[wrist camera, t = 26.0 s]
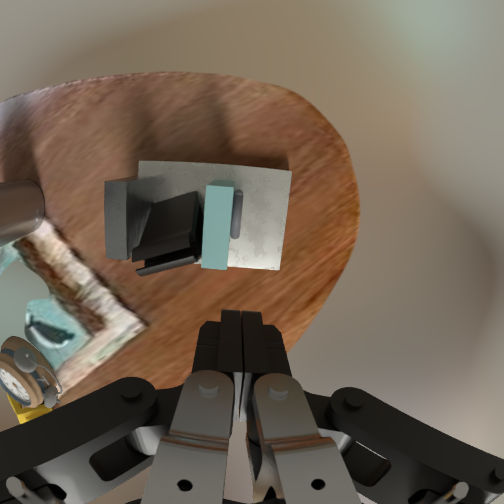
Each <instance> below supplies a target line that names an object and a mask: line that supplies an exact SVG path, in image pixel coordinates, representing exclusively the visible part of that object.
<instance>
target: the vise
mask: <svg viewBox="0 0 504 504" xmlns="http://www.w3.org/2000/svg"><path fill="white" fill-rule="evenodd" d="M291 175H292V171H286V170H278V169H269V168H260V167H250V166H239V165H227V164H214V163H197V162H175V161H139V167H138V176H133V177H127V178H121V179H116V180H110V181H105V195H104V214H105V244H106V258H110V259H120V260H128V259H129V258H130V257H131V256H132V250H133V248H134V247H137V246H138V245H139V243H140V240H141V237H142V234H143V231H144V228H145V225H146V222H147V220H148V217H149V214H150V211H151V209H152V206H153V204H154V203H157V202H160V201H164V200H167V199H170V198H173V197H176V196H180V195H183V194H186V193H190V192H193V191H197V195H198V198H199V202H200V205H201V209H202V212H203V215H204V210H205V195H206V185H207V184H209V183H210V182H212V181H213V180H215V179H217V180H230V181H235V186H234V192H235V191H236V190H242V191H243V194H244V196H243V206H242V217H241V227H240V236H239V238H238V239H232V238H231V236H230V243H229V252H228V262H227V266H232V267H244V268H257V269H271V270H279V268H280V261H281V253H282V246H283V239H284V231H285V224H286V216H287V208H288V200H289V192H290V184H291ZM195 264H202V259H201V260H198V262H196V263H195Z"/></svg>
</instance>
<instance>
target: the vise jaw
mask: <svg viewBox="0 0 504 504" xmlns="http://www.w3.org/2000/svg"><path fill="white" fill-rule="evenodd" d="M234 186H235V181H230V180H217V179H215V180H213V181H212V182H210V183H209V184H207V185H206V195H205V210H204V225H203V243H202V264H201V268H210V269H222V270H227V262H228V252H229V243H230V236H231V238H232V239H238V238H239V236H240V227H241V217H242V206H243V196H244V194H243V191H242V190H236V191H235V192H234Z"/></svg>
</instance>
